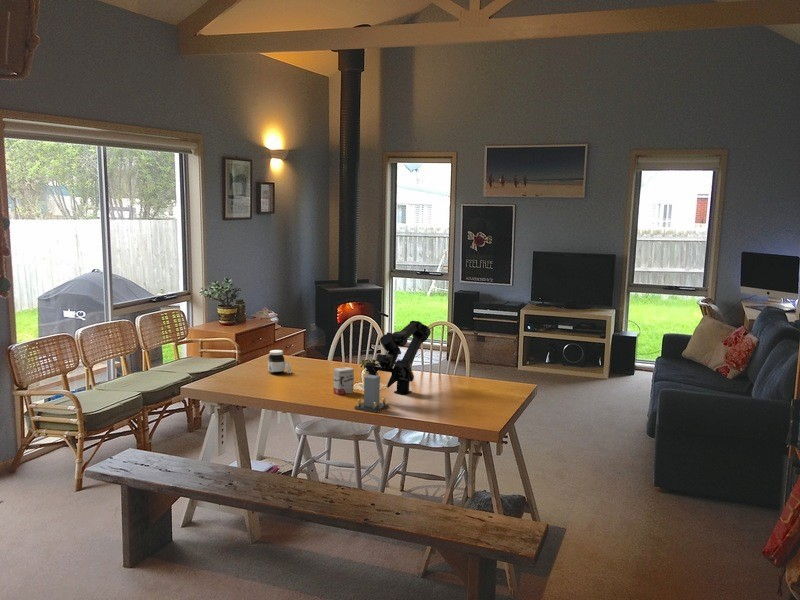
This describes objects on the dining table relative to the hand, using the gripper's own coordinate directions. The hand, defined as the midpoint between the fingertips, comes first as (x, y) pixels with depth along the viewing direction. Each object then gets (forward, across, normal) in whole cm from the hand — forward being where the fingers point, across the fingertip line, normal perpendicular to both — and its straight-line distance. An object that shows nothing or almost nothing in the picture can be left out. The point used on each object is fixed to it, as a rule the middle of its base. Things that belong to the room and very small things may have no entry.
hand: (378, 385), depth 312 cm
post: (+10, 0, +1) cm, 10 cm away
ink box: (+1, -24, +12) cm, 27 cm away
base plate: (+10, 0, +2) cm, 11 cm away
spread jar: (-10, -72, +23) cm, 77 cm away
